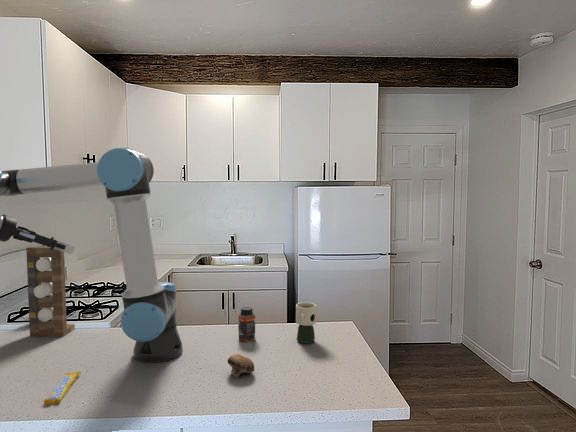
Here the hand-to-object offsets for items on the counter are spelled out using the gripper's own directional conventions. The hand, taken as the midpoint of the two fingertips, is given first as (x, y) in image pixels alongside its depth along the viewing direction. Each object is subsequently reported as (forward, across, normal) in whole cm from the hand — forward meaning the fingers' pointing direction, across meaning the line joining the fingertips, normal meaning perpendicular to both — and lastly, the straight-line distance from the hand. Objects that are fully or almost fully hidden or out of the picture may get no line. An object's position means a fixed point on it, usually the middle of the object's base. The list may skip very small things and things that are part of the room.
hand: (72, 250), depth 140 cm
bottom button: (+10, -17, -25) cm, 32 cm away
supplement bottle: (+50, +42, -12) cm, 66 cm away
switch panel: (+14, -18, -30) cm, 38 cm away
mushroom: (+31, +60, -20) cm, 70 cm away
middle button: (+5, -16, -18) cm, 25 cm away
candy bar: (-1, +29, -36) cm, 47 cm away
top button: (+3, -18, -9) cm, 20 cm away
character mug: (+60, +59, -6) cm, 85 cm away
